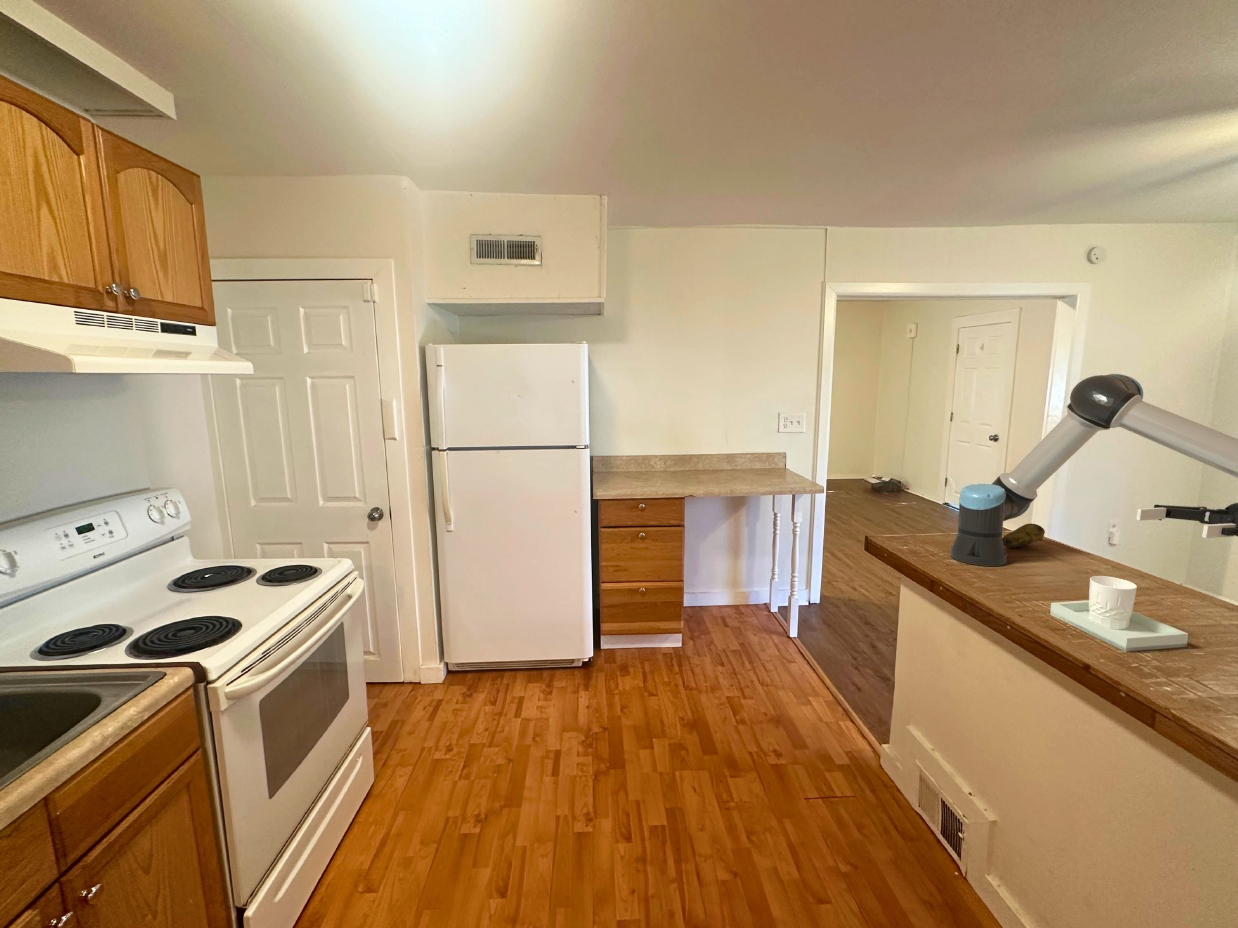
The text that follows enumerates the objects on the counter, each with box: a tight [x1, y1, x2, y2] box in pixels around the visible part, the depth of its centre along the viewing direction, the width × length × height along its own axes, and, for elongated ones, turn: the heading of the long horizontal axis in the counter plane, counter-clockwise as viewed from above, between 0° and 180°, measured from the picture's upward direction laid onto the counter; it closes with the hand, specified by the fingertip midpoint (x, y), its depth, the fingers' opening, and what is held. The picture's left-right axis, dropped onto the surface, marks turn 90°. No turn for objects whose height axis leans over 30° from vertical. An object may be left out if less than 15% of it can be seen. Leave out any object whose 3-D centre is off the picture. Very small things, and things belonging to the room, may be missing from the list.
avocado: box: [1002, 523, 1046, 549], centre depth 176 cm, size 8×13×8 cm, turn 76°
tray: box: [1049, 599, 1189, 653], centre depth 120 cm, size 18×14×3 cm
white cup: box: [1088, 575, 1138, 629], centre depth 120 cm, size 8×8×10 cm
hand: (1169, 522), depth 119 cm, fingers open, 13 cm apart
